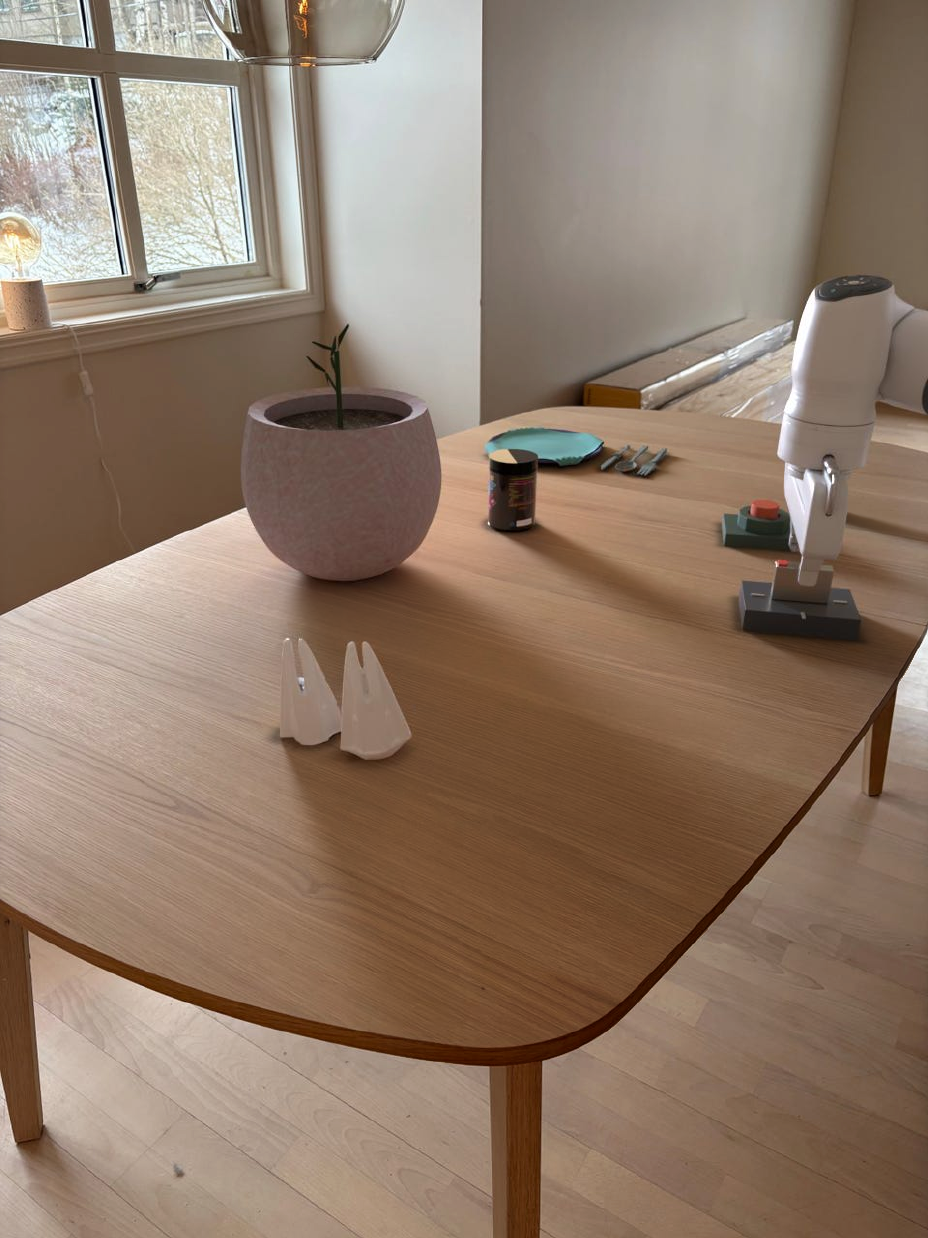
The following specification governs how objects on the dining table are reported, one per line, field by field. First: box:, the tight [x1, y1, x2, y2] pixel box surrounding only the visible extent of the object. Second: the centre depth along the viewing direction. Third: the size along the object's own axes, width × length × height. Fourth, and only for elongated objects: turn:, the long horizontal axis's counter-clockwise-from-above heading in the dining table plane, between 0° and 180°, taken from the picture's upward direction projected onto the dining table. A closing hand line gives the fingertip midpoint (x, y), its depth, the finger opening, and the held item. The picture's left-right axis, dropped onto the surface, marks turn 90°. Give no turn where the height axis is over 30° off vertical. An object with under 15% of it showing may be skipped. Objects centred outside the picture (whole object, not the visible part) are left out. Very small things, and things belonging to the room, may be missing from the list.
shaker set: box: [279, 637, 412, 761], centre depth 83 cm, size 12×4×11 cm, turn 64°
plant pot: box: [240, 323, 442, 582], centre depth 114 cm, size 24×24×30 cm
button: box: [750, 499, 780, 519], centre depth 128 cm, size 4×4×2 cm
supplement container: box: [487, 449, 539, 534], centre depth 132 cm, size 7×7×10 cm
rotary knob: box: [771, 559, 835, 604], centre depth 105 cm, size 6×2×4 cm, turn 78°
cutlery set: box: [484, 426, 668, 477], centre depth 163 cm, size 20×30×2 cm, turn 64°
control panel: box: [738, 580, 862, 642], centre depth 107 cm, size 12×10×3 cm
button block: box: [721, 505, 792, 552], centre depth 129 cm, size 10×8×4 cm
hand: (801, 566), depth 104 cm, fingers open, 8 cm apart
